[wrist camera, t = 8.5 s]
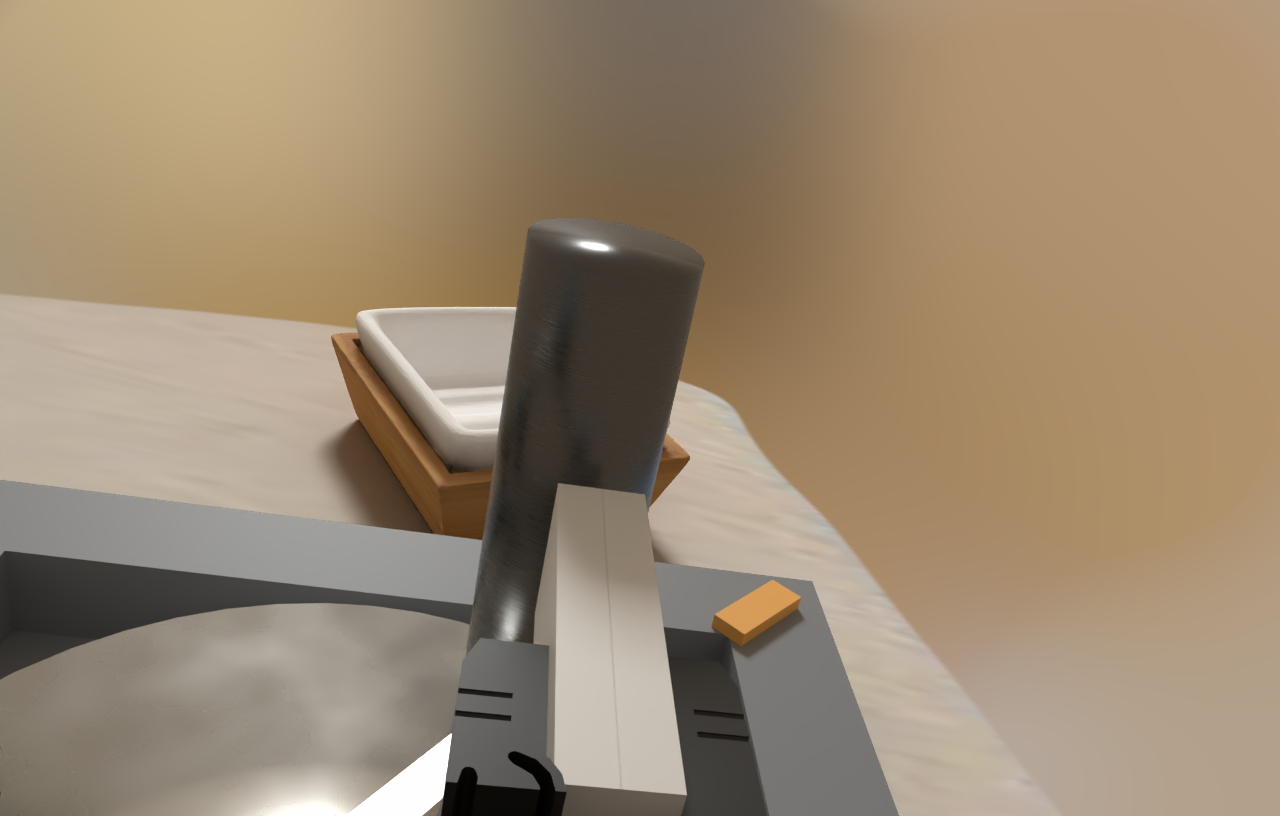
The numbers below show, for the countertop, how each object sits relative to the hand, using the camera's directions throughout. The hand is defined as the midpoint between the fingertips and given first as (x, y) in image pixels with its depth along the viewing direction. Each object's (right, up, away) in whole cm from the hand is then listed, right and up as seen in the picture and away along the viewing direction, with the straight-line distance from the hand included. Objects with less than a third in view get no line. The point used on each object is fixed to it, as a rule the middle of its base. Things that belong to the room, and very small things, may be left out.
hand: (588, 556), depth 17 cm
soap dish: (-5, 0, +23) cm, 23 cm away
